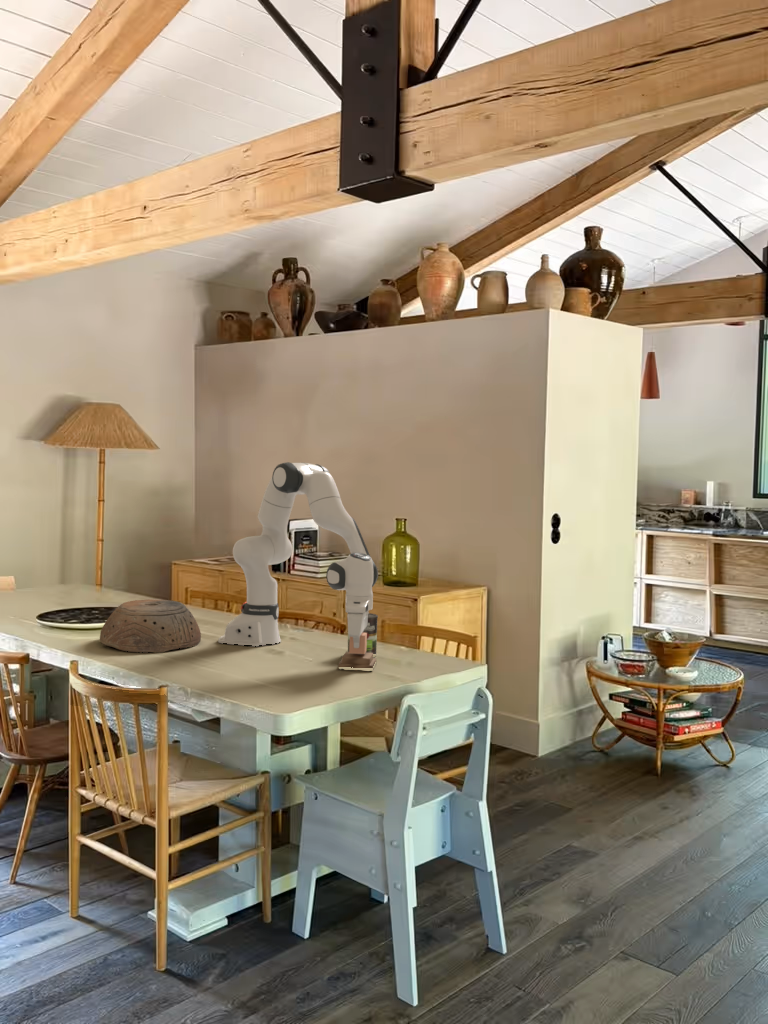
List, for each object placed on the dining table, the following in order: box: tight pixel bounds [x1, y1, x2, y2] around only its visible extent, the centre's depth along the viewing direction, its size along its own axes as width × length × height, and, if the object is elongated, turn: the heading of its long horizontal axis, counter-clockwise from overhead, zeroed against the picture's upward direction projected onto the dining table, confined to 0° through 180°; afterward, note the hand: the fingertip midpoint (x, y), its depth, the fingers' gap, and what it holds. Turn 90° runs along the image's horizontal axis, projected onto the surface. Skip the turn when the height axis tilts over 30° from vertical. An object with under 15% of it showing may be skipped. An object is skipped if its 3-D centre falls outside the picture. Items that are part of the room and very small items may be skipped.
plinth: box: [337, 651, 377, 668], centre depth 301 cm, size 11×11×4 cm
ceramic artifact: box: [99, 598, 202, 654], centre depth 330 cm, size 35×36×15 cm
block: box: [349, 633, 367, 654], centre depth 301 cm, size 5×5×6 cm
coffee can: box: [347, 612, 379, 655], centre depth 319 cm, size 10×10×14 cm
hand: (357, 645), depth 301 cm, fingers closed on block, 5 cm apart
